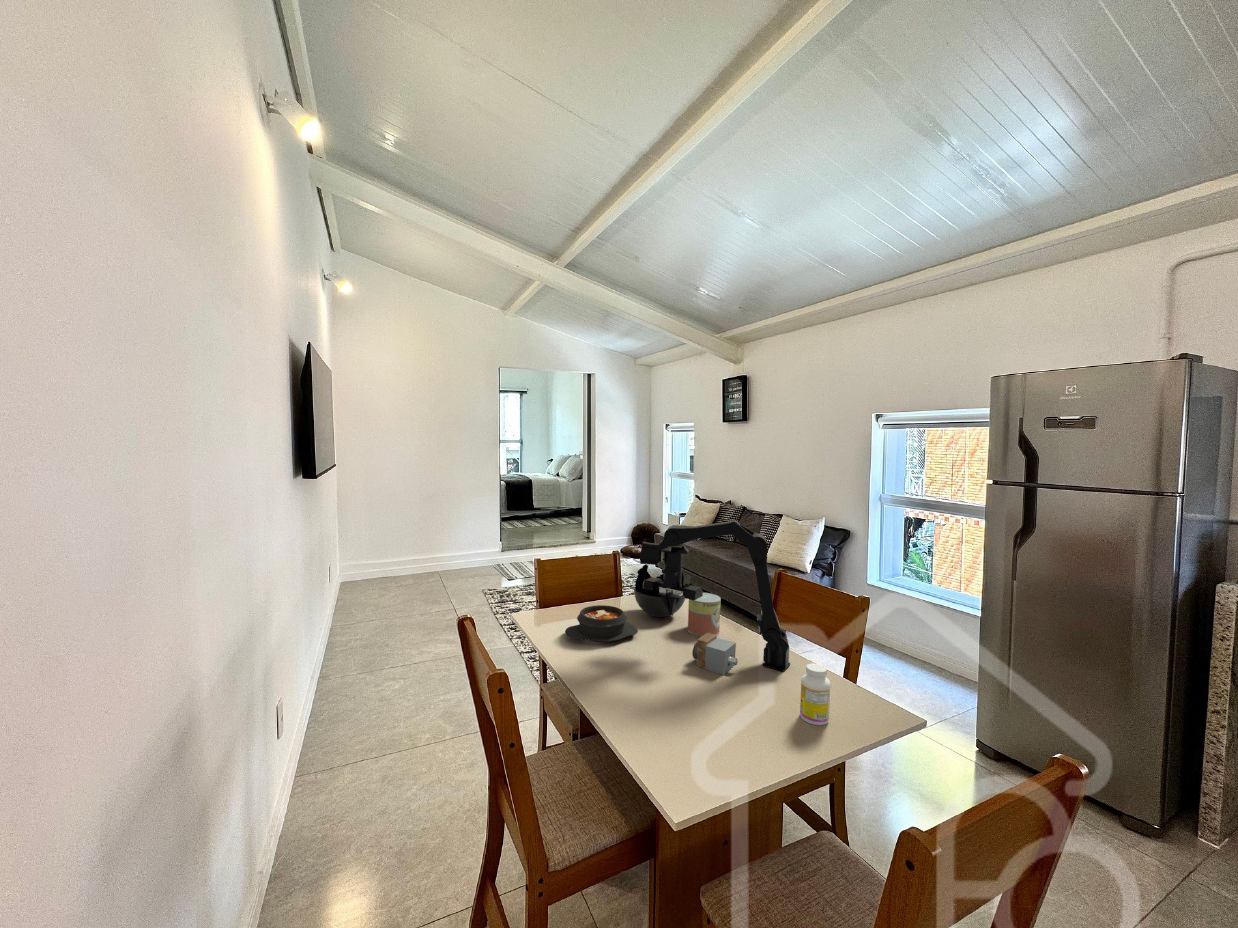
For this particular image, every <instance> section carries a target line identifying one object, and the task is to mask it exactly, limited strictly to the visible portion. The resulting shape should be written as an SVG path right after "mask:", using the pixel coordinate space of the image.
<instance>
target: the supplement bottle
mask: <svg viewBox="0 0 1238 928" xmlns="http://www.w3.org/2000/svg"><path fill="white" fill-rule="evenodd" d="M805 672H806V674H804V675H802V677H801V679H800V681H801V683H800V685H801V686H800V703H799V704H800V706H799V715H800V718H801V719H802V720H803V721H805V722H806V723H808V724H810V725H814V726H825V725H827V724H828V723H829V721H830V709H831V707H830V705H831V703H830V702H831V701H830V700H831V681H830V680H829V678H827V672H828V669H827V667H825V666H824V665H822V664H818V663H808V664H806V666H805Z"/></svg>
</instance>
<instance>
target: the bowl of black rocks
mask: <svg viewBox="0 0 1238 928" xmlns="http://www.w3.org/2000/svg"><path fill="white" fill-rule="evenodd" d="M648 569H649V564H643V565H642V567H641V568H639V569H638V570H637V577H636V580H635V584H634V585H635V586H634V588H633V594H634V598H635V601H636V603H637V605H638V606H639V607H640V609H641V610H642V611H643V612H645V613H646V614H648V615H650V616H651V617H656V618H666V617H669V616H671V615H669V613H668V610H667V608H666V606H665V603H664V602H663V600H662V598H661V596H660V595H658V593H659V588H656V587H653V589H652V590H646V589H643V582H644V581H645V580H646V579H649V578H651V577H652V576H651V575H650V573H649V572H648ZM655 578H659V579H661V580H662V582H663V578H664V573H661V574H660V575H657V576H656V577H655ZM681 587H685V588H686V585H684V586H683V585H682V586H681ZM685 601H686V599H685V598H684V597H682V598H680V600H679V602H678V604H677V606H676V609H675V612H674V614H676V613H677V612H678V611H679V610H681V608H682V607H683V605H684V603H685Z"/></svg>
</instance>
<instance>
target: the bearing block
mask: <svg viewBox="0 0 1238 928" xmlns="http://www.w3.org/2000/svg"><path fill="white" fill-rule="evenodd" d="M736 644H737V642H735V641H732V640H727V639H723V638H720V637H717V638H716V639H715V640H713V641H712V642H711V643H709V644H708V645H706V657H705V668H704V670H705V671H706V670H707V671H710V672H713V673H716V674H719V675H723V676H725V675H726V674H727V673H728V672H730V671H731V670H732V669H731V668H734V667H735V665H732V664H729V663H728V657H729V656H730V657H733V658H736V647H737V645H736ZM733 666H734V667H733Z"/></svg>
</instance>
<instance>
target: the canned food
mask: <svg viewBox="0 0 1238 928" xmlns="http://www.w3.org/2000/svg"><path fill="white" fill-rule="evenodd" d="M721 599H722V598H721V597H720V595H717V594H714V593H711V592H710V593H709V592H703V596H702V597H700V598H698V599H696V600H690V599H688V613H687V614H688V615H687V617H688V618H687V631H688V632H689V633H690V634H691V635H694V636H699V637H702V636H703V635H705V634H706V633H711V634H715V635H717V636H718V635H719V634H720V632H721V630H720V629H721V627H720V625H721V624H720V623H721Z"/></svg>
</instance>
